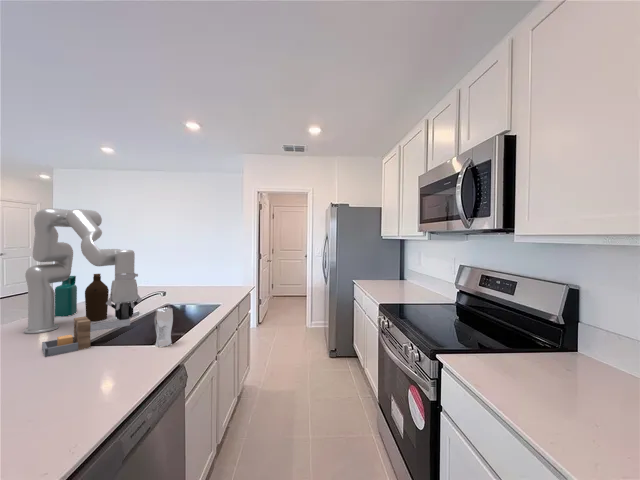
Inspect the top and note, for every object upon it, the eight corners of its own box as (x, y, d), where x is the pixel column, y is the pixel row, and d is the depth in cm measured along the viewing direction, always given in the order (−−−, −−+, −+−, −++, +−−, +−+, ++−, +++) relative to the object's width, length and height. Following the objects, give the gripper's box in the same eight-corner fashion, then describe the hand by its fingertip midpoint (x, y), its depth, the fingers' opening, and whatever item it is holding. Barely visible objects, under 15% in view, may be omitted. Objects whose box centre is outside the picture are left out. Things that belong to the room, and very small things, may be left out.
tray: (42, 349, 123) (42, 342, 123) (73, 343, 131) (73, 336, 131) (45, 357, 116) (45, 349, 116) (78, 350, 123) (78, 342, 123)
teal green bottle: (70, 316, 175) (71, 277, 175) (53, 317, 173) (53, 277, 172) (79, 312, 184) (79, 275, 184) (62, 312, 182) (62, 275, 182)
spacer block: (71, 345, 128) (57, 347, 124) (71, 334, 128) (57, 336, 124) (72, 347, 125) (58, 350, 121) (73, 336, 124) (58, 339, 121)
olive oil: (112, 318, 171) (112, 273, 171) (90, 323, 162) (90, 275, 162) (102, 315, 176) (103, 272, 176) (80, 320, 167) (81, 274, 167)
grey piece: (76, 332, 129) (76, 308, 128) (127, 323, 142) (128, 302, 142) (77, 334, 126) (78, 310, 126) (130, 325, 140) (130, 303, 140)
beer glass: (167, 347, 127) (167, 311, 127) (150, 347, 128) (151, 311, 128) (175, 341, 134) (176, 307, 134) (160, 341, 135) (160, 307, 134)
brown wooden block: (73, 343, 130) (73, 318, 130) (85, 341, 133) (85, 316, 133) (78, 350, 123) (78, 322, 123) (90, 347, 126) (90, 320, 126)
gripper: (142, 274, 148) (142, 312, 148) (100, 277, 136) (100, 319, 136) (147, 276, 143) (147, 315, 143) (104, 279, 131) (104, 322, 131)
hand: (124, 316), depth 139 cm, fingers closed on grey piece, 4 cm apart
